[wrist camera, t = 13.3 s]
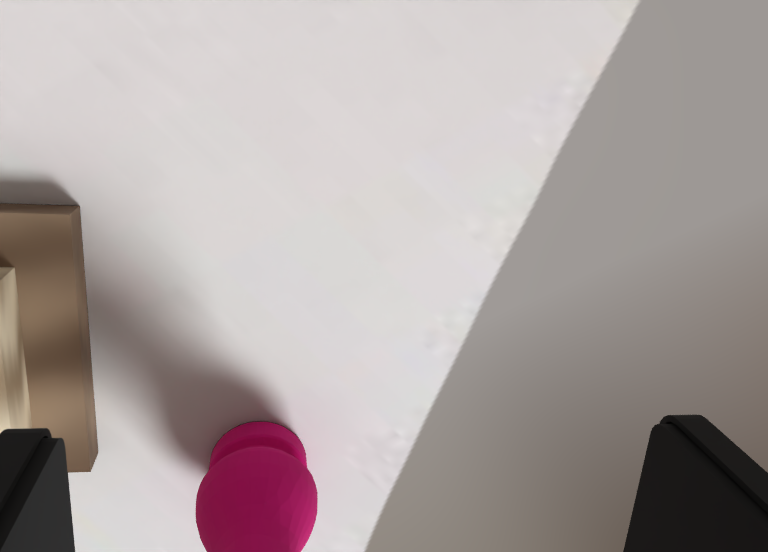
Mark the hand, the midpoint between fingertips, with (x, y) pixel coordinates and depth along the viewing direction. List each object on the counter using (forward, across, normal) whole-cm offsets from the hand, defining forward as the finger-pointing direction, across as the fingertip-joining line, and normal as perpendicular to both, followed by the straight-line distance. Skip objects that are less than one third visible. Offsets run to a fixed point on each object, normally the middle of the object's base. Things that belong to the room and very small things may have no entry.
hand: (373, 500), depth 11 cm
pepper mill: (+31, +2, +20) cm, 37 cm away
